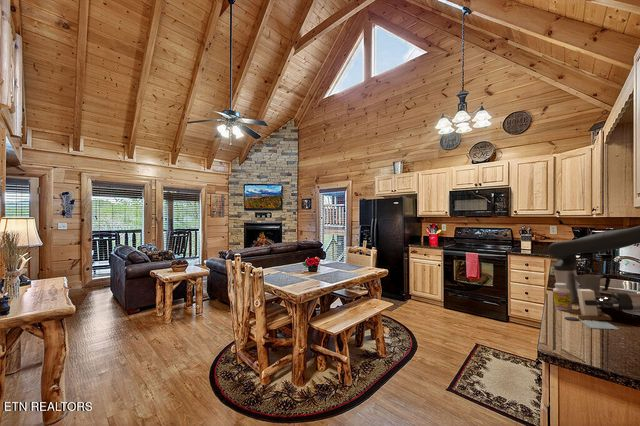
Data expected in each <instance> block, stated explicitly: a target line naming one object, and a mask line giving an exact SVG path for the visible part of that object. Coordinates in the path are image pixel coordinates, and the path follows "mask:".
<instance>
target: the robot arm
mask: <svg viewBox="0 0 640 426" xmlns="http://www.w3.org/2000/svg"><path fill="white" fill-rule="evenodd" d="M637 244H640V225H638V226H634V227H629V228H622V229H613V230H607V231H606V230H605V231H603V232H597V233H594V234H589V235H585V236H582V237H580V238H579V237H578V238H576V239H572V240H567V241H566V240H564V241H554V242H552V243H550V244H549V246H547V253H548V254H549V255H550V256H551V257H552V258H556V260H557V261H556V262H555V263H554V265H553V270H554V275H555V277H554V278H555V283H565V284H567V287H566V288H567V289H569V290H570V295H571V302H572V303H579V298H578V291H577V289H580V286H579V283H578V282H577V281H576V280H575V279H574V278H573V277H574V276H577V269H576V268H577V264H578V261H577V254H585V253H587V254H588V253H599V252H608V251H613V250H618V249H623V248H628V247H630V246H634V245H637ZM595 300H596V301H595ZM595 300H585V305H589V306H599V307H598V308H605V309H611V308H612V309H615V310H617V311H629V312H630V311H635V312H640V293H635V292H634V293H633V292H629V293H628V292H613V293H611V294H610V297H608V296H607V295H603V294H600V295H595ZM600 306H601V307H600Z"/></svg>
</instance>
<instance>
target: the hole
mask: <svg viewBox="0 0 640 426" xmlns="http://www.w3.org/2000/svg"><path fill="white" fill-rule="evenodd" d="M564 320H566V321H570V322H572V321H573V322H579V321H580V319H579V318H578V317H574V316H565V317H564Z"/></svg>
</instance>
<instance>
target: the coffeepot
mask: <svg viewBox="0 0 640 426" xmlns="http://www.w3.org/2000/svg"><path fill="white" fill-rule="evenodd" d="M573 278H574V279H575V280H576V281H577V282H578V285H579V288H580V289H590V290H592V291H594V294H595V295H601V292H600V289H601V280H603V279H605V284H604V288H602V289H601V291H603V292H607V291H608V290H609V286H610V282H611V277H609V275H607V274H592V273H591V272H590V270H585V273H583V274H578V275H577V276H574V277H573ZM596 307H598V308H602V307H601V306H600V307H599V306H596Z"/></svg>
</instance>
